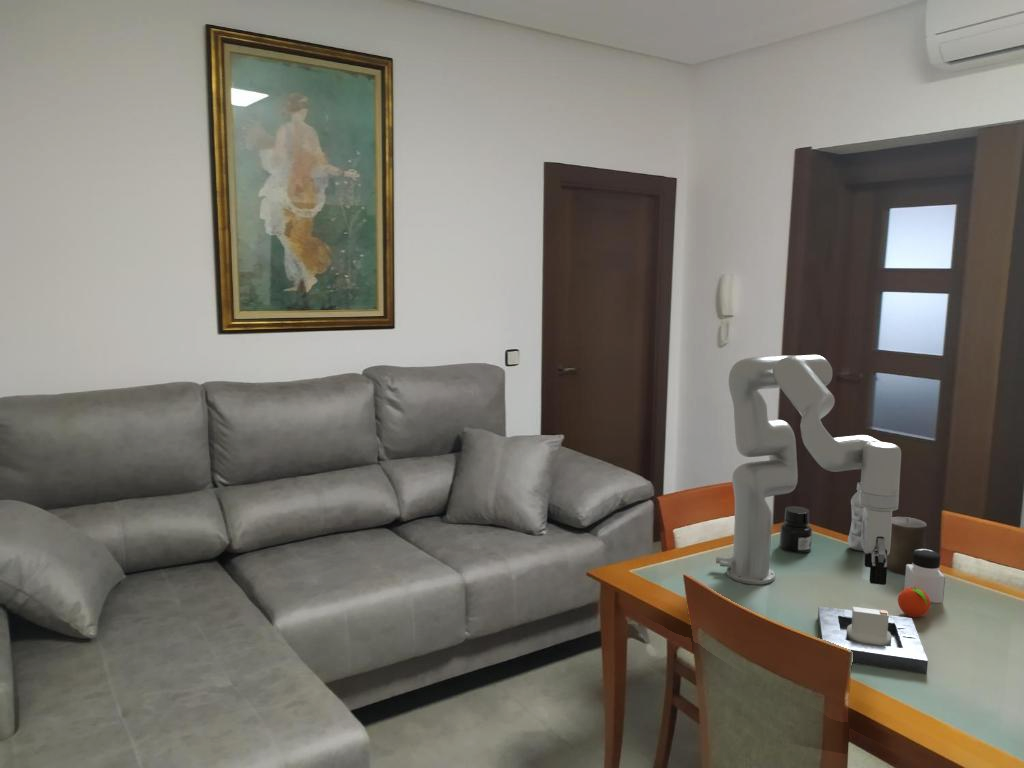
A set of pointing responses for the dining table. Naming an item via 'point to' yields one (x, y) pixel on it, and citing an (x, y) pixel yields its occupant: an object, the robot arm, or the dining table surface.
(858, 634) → the dial knob
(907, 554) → the pillar candle
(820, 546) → the dining table surface
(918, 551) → the medicine bottle
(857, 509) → the plastic bottle
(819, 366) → the robot arm
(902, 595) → the clementine
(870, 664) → the dial plate
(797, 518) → the ink bottle
